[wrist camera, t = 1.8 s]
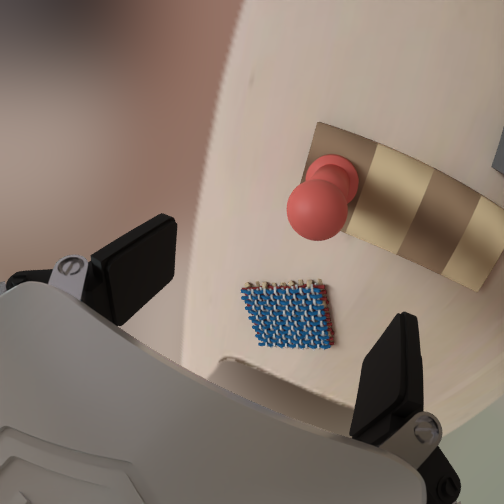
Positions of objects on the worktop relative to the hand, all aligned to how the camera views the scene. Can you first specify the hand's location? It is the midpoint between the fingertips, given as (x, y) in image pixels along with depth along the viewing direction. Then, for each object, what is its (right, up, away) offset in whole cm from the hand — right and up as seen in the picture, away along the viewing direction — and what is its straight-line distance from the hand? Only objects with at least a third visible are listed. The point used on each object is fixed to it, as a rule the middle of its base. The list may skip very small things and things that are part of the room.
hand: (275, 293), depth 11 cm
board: (+14, +6, +12) cm, 20 cm away
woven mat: (+4, -6, +24) cm, 25 cm away
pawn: (+6, +8, +13) cm, 17 cm away
